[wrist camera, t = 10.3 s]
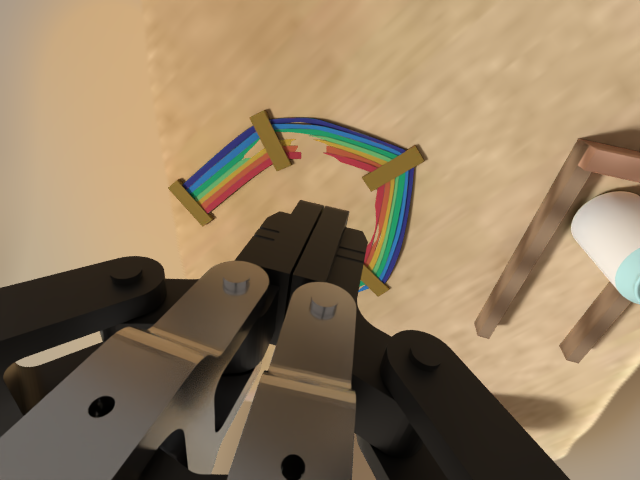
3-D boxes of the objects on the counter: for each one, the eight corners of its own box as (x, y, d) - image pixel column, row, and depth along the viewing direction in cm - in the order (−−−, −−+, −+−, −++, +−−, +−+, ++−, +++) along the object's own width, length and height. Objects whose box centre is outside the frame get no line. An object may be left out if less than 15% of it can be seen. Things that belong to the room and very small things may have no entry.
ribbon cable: (349, 34, 35) (170, 185, 48) (347, 34, 34) (165, 187, 47) (478, 249, 44) (297, 326, 57) (480, 254, 43) (295, 331, 56)
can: (575, 190, 37) (640, 248, 27) (655, 186, 35) (756, 247, 25) (562, 247, 40) (616, 317, 30) (634, 246, 39) (716, 320, 29)
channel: (578, 138, 35) (596, 149, 31) (718, 168, 33) (753, 183, 30) (474, 322, 48) (479, 344, 45) (570, 348, 47) (583, 372, 44)
